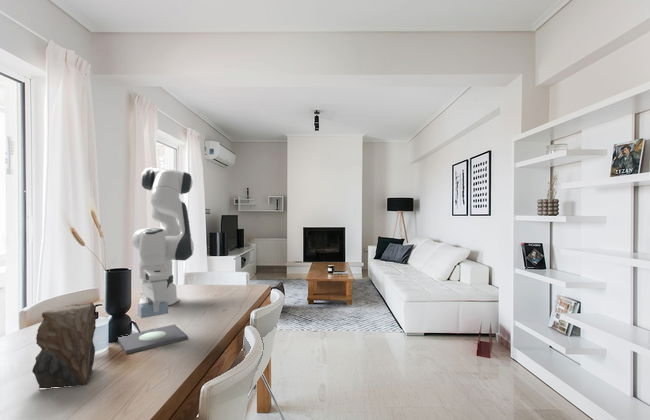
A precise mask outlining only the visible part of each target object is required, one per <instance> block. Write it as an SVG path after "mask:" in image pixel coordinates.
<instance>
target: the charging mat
mask: <svg viewBox="0 0 650 420" xmlns="http://www.w3.org/2000/svg"><path fill="white" fill-rule="evenodd" d="M139 332H140V333H139ZM129 334H130V335H128V334H127V335H128V336H123V335H121V336H122V337H118V336H117V337H118V340H117V342H118V344H119V345H120V347H121V349H122V351H123V352H124V354H125V355H129V354H133V353H137V352H140V351H144V350H147V349H152V348H157V347H160V346H161V347H162V346H165V345H168V344H172V343H177V342H180V341H185V340H188V339H189V336H188V334H186V332H185V331H183V330H182V329H181V328H179V327H178V326H177V324H170V325H165V326H161V327H156V328H151V329H147V330H143V331H137V332H131V333H129Z"/></svg>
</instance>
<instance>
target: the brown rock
mask: <svg viewBox="0 0 650 420" xmlns="http://www.w3.org/2000/svg"><path fill="white" fill-rule="evenodd" d="M95 309H96V308H95V304H94V302H90V303H89V302H88V303H83V304H73V303H72V304H70V305H66V306H65V307H62V308H58V309H56V310H47V311H44V312H42V313H41V317H42V321H41V323H40V325H39V326H38V328H37V330H36V331H37V333H36V337H35V340H36V342H35V344H36V345H38V347H39V348H40V349H41V350H40V352H39V353H38V354H37V355H36V356H35V363H34V365H33V367H32V370H31V371H32V373H33V374H34V376H35V379H36V383H37V384H38V389H39V388H51V387H64V386H75V387H78V386H77V385H81V386H86V384H87V385H88V382H89V381H88V380H89V379H90V376H91V373H92V370H93V367H94V366H93V365H94V361H95V354H96V349H95V348H96V346H95V344H94V337H95V332H96V328H97V327H96V316H95V313H94V312H95ZM64 388H65V387H64Z"/></svg>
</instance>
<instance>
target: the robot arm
mask: <svg viewBox="0 0 650 420" xmlns="http://www.w3.org/2000/svg"><path fill="white" fill-rule="evenodd" d="M140 183H141V187H142V188H143V189H145V190H148V191H150V203H151V211H150V216H151V217H152V219H153V220H154V221H156V222H158V223H161V225H160V226H161V227H147V228H140V229H138V230H136V231H134V233H133V235H132V238H131V243H132V245H133V247H134V248H135V249H136V250H138V251H139V257H140V262H139V271H138V272H139V280H140V279H141V292H140V296H141V298H139V304H142V303H148V302H153V307H152V311H153V312H158V311H159V304H160V302H164V301H167V302H168V306H171V305H174V304H175V303H177V302H179V301H181V299H180V298H179V297H178V294H177V292H178V291H177V285H176V284H174V275H173V261H175V260H176V261H187V260H188V259H190V258H191V257H192V256H193V254H194V250H195V248H194V245H195V244H194V242H193V239H192V233H191V228H190V221H189V220H190V219H189V213H188V207H187V205H186V203H185V202H183V201H182V200H181V199H180V195H183V194H188V193H189V192H190V191H191V190H192V187H193V179H192V175H191V174H190V173H188V172H187V171H186V172H185V171H180V170H179V171H178V170H174V169H171V168H170V169H165V168H155V167H146V168H145V169H143V171H142V173H141V174H140Z"/></svg>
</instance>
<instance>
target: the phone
mask: <svg viewBox="0 0 650 420" xmlns="http://www.w3.org/2000/svg"><path fill="white" fill-rule="evenodd" d="M152 307H153V302H148V303H142V304H140V303H139V304H137V316H138V317H139V318H140V319H145V318H151V317H156V316H160V315H166V314H169V305H168V302H167V301H164V302H160V304H159V311H158V312H153V311H152Z"/></svg>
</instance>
